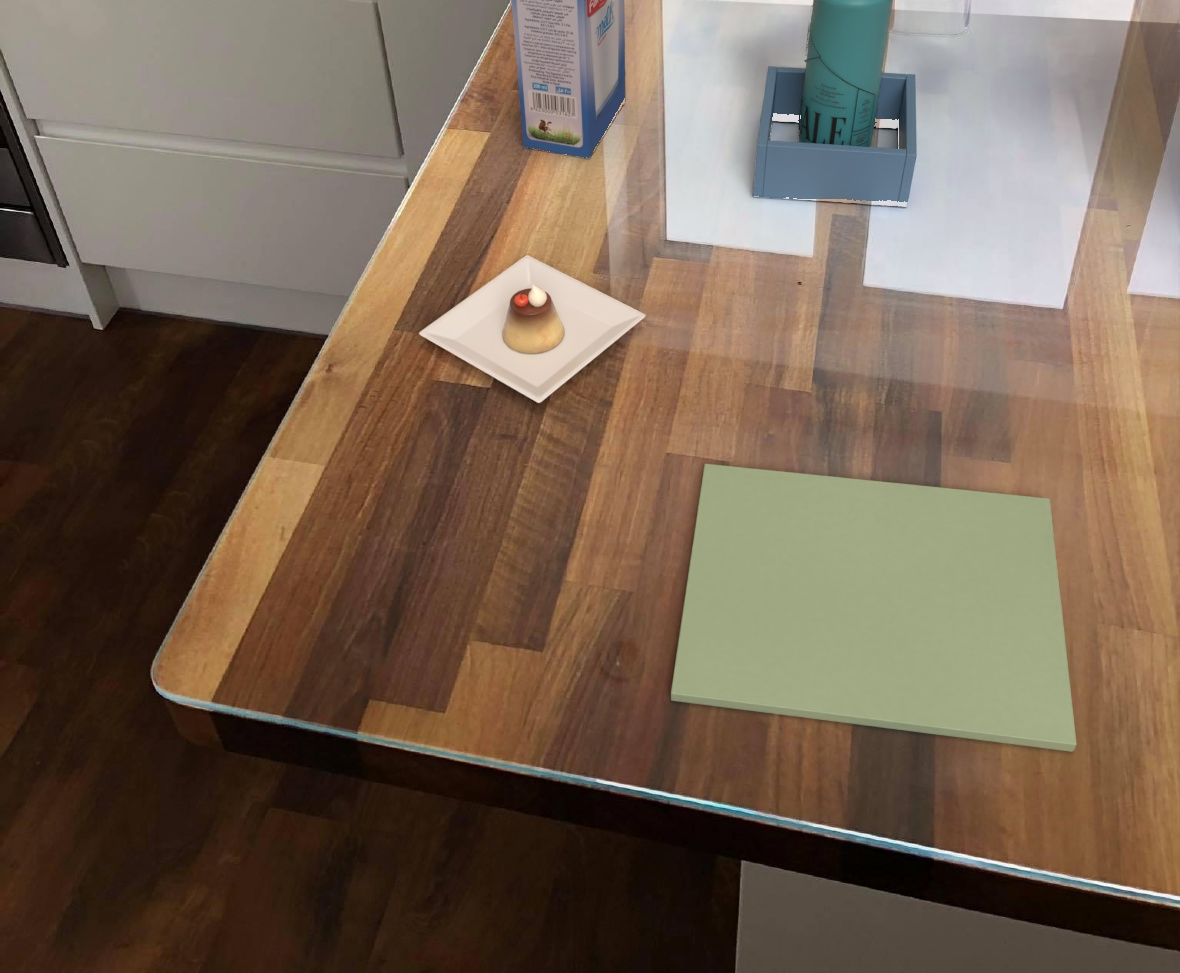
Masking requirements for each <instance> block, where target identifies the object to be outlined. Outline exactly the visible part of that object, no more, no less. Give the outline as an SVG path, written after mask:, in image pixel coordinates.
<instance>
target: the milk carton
mask: <svg viewBox="0 0 1180 973" xmlns="http://www.w3.org/2000/svg"><path fill="white" fill-rule="evenodd" d="M511 11H512V22H513V34H514V35H513V36H514V47H515V49H514V50H515V58H516V59H515V62H516V71H517V84H518V96H519V109H520V120H521V133H522V145H523V148H524V147H528V148H532V149H533V148H534V149H538V150H539V149H540V150H544V151H548V152H547V153H550V152H552V153H551V154H555V153H558V154H557V155H561V154H567V155H571V156H570V157H573V156H578V157H577V158H579V157H584V158H586V157H587V158H588V159H587V160H590V159H591V158H592V156H593V155H592V153H593V151H594V149H595V147H596V146H597V144H598V143H599V141H600V140H601V138H602V136H603V135H604V133H605V131H606V130H607V128H608V126H609V124H610V123H611V121H612V119H613V117H614V116H615V113H616V112H617V111H618V109H619V107H620V105H621V103H622V102H623V100H624V98H625V99H626V26H625V24H626V22H625V19H626V18H625V14H626V12H625V0H511ZM601 141H602V140H601ZM532 149H531V150H532ZM538 150H537V151H538ZM544 151H543V152H544ZM549 151H550V152H549ZM593 154H594V153H593ZM567 155H566V156H567ZM591 155H592V156H591ZM590 157H591V158H590ZM584 158H583V159H584Z"/></svg>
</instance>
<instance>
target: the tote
mask: <svg viewBox="0 0 1180 973" xmlns="http://www.w3.org/2000/svg"><path fill="white" fill-rule="evenodd" d="M805 69H806V67H790V66H777V65H776V66H775V65H774V66H772V65H768V66H767V72H766V79H765V86H764V93H763V100H762V106H761V114H760V120H759V126H758V135H757V142H756V152H755V162H754V163H755V164H754V178H753V179H754V180H753V189H752V197H753V196H759V197H762V198H763V197H769V198H768V199H773V198H782V199H781V200H784V199H783V198H786V197H789V199H793V198H797V199H847V200H852V199H853V200H854V201H856V200H860V201H862V200H866V201H879V200H880V201H882V200H883V201H887V200H891V201H897V202H898V201H899V202H904V201H905V202H908V203H909V198H910V193H911V188H912V187H911V186H912V183H913V177H914V173H915V167H916V162H917V161H916V160H917V156H918V155H917V153H918V150H917V149H918V148H917V146H918V144H917V90H916V88H917V87H916V86H917V85H916V83H917V82H916V80H917V79H916V74H914V73H896V72H881V83H880V86H881V87H880V90H879V94H880V95H881V96H878V103H879V102H880V103H879V104H878V103H877V104H878V105H877V110H878V111H877V110H876V112H877V114H876V117H875V118H876V119H892V120H895V119H897V120H898V119H899V149H897V148H892V147H876V146H871V147H863V146H848V145H832V144H817V143H801V142H799V141H786V140H785V141H783V140H771V135H770V133H772V128H771V125H772V126H773V121H772V117H773V113H777V114H787V115H789V114H794V115H799V110H801V109H802V105H801V104H802V103H801V102H800V100H803V90H804V81H805V79H804V77H805V73H804V72H805ZM803 73H804V75H803ZM803 76H804V77H803ZM882 76H883V81H882ZM803 79H804V81H803ZM802 82H803V83H802ZM881 88H882V89H881ZM801 98H802V99H801ZM800 105H801V107H800ZM800 108H801V109H800ZM800 115H801V111H800Z"/></svg>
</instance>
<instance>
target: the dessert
mask: <svg viewBox="0 0 1180 973" xmlns="http://www.w3.org/2000/svg"><path fill="white" fill-rule="evenodd" d="M646 316H647V315H646V313H643V312H642V311H639V310H638V309H635V308H633V307H632V306H630V305H627V304H626V303H624V302H622V301H620V300H618V299H616V298H614V297H612V296H610V295H608V294H606V293H604V292H602V291H600V290H598V289H596V288H594V287H592V286H590V285H588V284H586V283H584V282H583V281H580V280H578V279H576V278H574V277H572V276H570V275H568V274H566V273H565V272H562V271H560V270H558V269H556V268H555V267H552V266H550V265H548V264H547V263H544V261H543V262H542V261H541V260H539V259H537V258H535V257H533V256H531V255H528V254H525V255H524V256H522V258H520V259H519V260H517V261H516V262H515V263H513V264H512V265H510V266H509V267H508V268H506V269H505V270H504V271H502V272H501V273H500V274H498V275H496V276H495V277H494V278H492V279H491V280H490V281H488V282H487V283H485V284H484V285H483V286H481V287H480V288H478V289H477V290H476V291H474V292H473V293H471V294H470V295H469V296H467V297H466V298H465V299H463V300H462V301H461V302H459V303H457V304H456V305H455V306H454V307H452V308H450V310H448V311H446V312H445V313H444V314H442V315H441V316H439V317H438V318H437V319H436V320H434V321H432V323H430V324H428V325H427V326H425V327H424V328H423V329H421V330H420V331H419V332H418V335H419V336H421V337H422V338H425V339H427V341H430V342H432V343H433V344H435V345H437V346H439V347H440V348H442V349H444V350H445V351H447V352H449V353H451V354H452V355H454V356H456V357H458V358H459V359H461V360H463V361H464V362H466V363H468V364H469V365H471V366H473V367H475V368H476V369H478V370H480V371H481V372H483V373H485V374H487V375H489V376H490V377H491V378H494V379H496V380H497V381H499V382H501V383H502V384H504V385H506V386H508V387H509V388H510V389H513V390H515V391H516V392H518V393H520V394H521V395H524V396H525V397H527V398H528V399H530V400H533V401H534V402H536V403H538V404H540V403H542V402H544V400H545V399H547V398H548V397H550V396H551V395H552V394H553V393H554V392H555V391H557V390H558V389H559V388H560V387H562V386H563V385H564V384H565V383H566V382H568V381H569V380H570V379H572V377H574V376H575V375H576V374H578V373H579V372H580V371H581V370H582V369H583V368H585V367H586V366H587V365H588V364H589V363H591V362H592V361H593V360H594V359H596V358H597V357H598V356H599V355H601V354H602V353H603V352H604V351H605V350H607V349H608V348H609V347H610V346H612V345H613V344H614V343H615V342H617V341H618V340H619V339H621V337H623V336H624V335H625V334H627V332H629V331H630V330H631V329H633V328H634V327H635V326H636V325H637V324H638V323H640V322H641V321H643V319H644V318H646Z"/></svg>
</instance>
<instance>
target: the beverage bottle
mask: <svg viewBox="0 0 1180 973" xmlns="http://www.w3.org/2000/svg"><path fill="white" fill-rule="evenodd" d="M893 2H894V0H812V5H811V7H812V8H811V15H810V16H811V17H810V23H809V25H808V27H807V29H809V30H807V35H806V36H807V37H806V38H807V39H806V44H805V50H807V51H806V53H805V56H806V59H804V62H805V63H806V64H805V68H806V69H805V72H804V73H805V77H804V76H803V77H804V79H805V81H804V79H803V81H804V90H803V100H800V102H801V103H802V104H801V105H802V109H801V108H800V109H801V110H799V120H798V121H799V124H798V125H797V133H796V134H797V137H796V138H797V142H801V143H817V144H832V145H848V146H863V147H872V144H873V138H874V136H875V133H874V131H876V130H877V128H874V125H875V123H877V122H875V117H876V114H877V112H876V110H877V105H878V104H879V103H880V102H879V103H878V96H881V95H880V94H879V90H880V87H881V86H880V83H881V73H883V67H884V66H883V65H884V58H885V54H886V53H885V52H886V46H887V40H888V33H889V28H890V20H891V15H892V8H893ZM804 73H803V75H804ZM882 81H883V76H882ZM802 83H803V82H802ZM881 89H882V88H881ZM801 99H802V98H801ZM877 103H878V104H877ZM801 105H800V107H801ZM800 111H801V119H800ZM877 111H878V110H877ZM875 127H876V126H875Z"/></svg>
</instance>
